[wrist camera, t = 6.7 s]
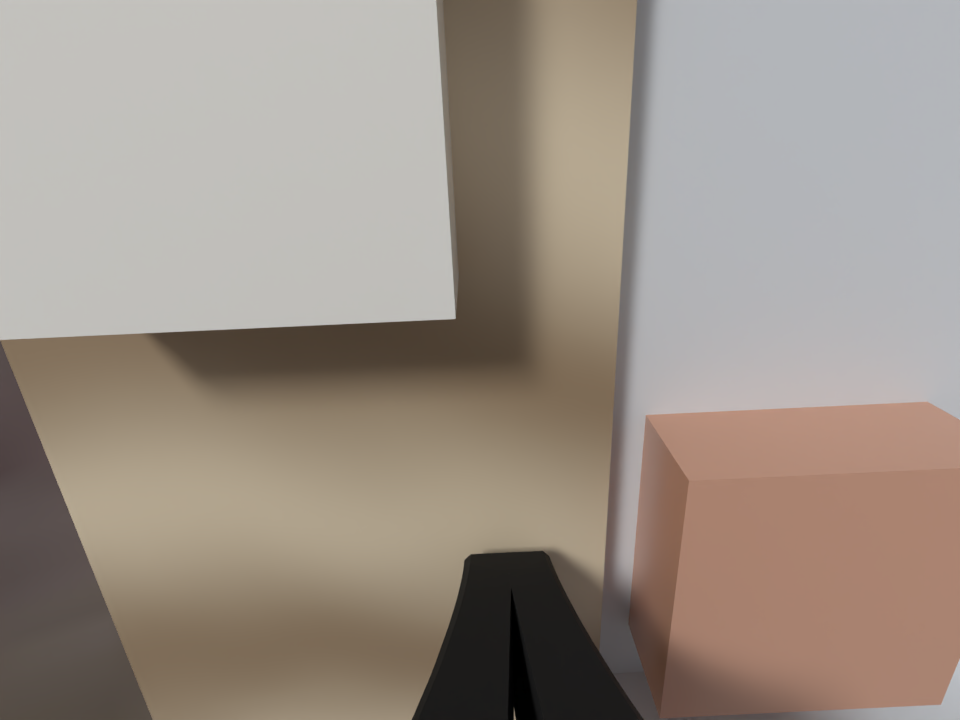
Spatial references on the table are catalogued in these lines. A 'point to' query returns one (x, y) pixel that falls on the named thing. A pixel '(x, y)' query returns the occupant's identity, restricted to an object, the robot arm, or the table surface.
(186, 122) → the cream tile
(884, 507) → the terracotta tile
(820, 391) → the grey tray
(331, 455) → the oak board
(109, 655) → the table surface
